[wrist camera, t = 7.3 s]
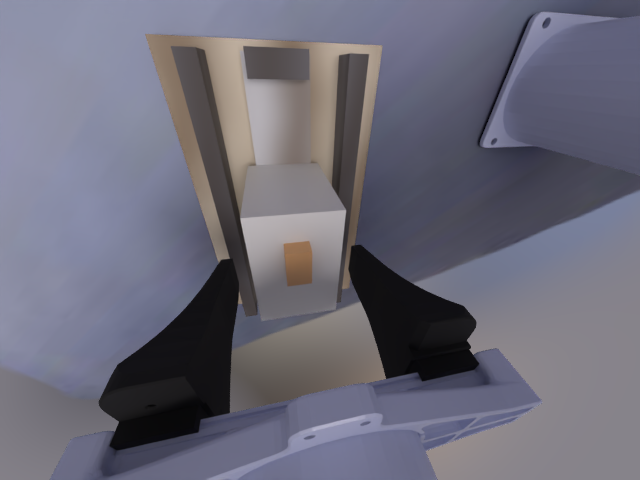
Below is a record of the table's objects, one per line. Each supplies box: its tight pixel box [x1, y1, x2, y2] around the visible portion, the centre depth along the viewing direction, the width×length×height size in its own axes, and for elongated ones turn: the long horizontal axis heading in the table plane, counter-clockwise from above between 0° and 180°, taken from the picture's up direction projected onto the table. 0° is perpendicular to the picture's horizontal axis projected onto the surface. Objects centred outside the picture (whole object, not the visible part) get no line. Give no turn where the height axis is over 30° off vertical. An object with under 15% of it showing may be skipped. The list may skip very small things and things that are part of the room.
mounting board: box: [145, 34, 382, 317], centre depth 17 cm, size 12×20×3 cm, turn 0°
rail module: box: [240, 163, 346, 321], centre depth 14 cm, size 4×7×7 cm, turn 179°
